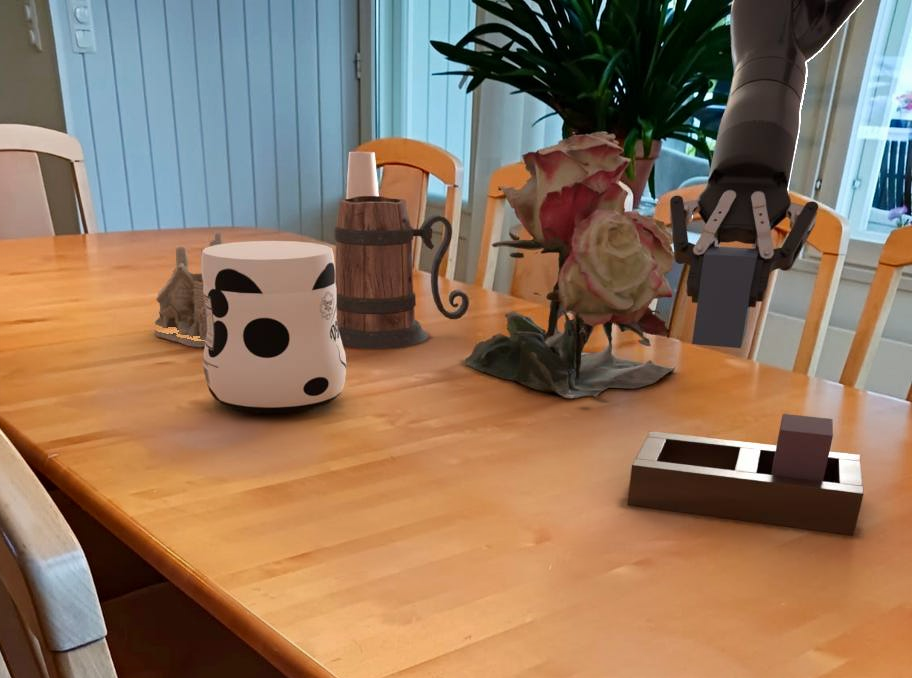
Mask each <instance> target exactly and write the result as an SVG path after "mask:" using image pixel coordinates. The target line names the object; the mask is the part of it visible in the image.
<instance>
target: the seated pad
mask: <svg viewBox="0 0 912 678" xmlns="http://www.w3.org/2000/svg"><path fill="white" fill-rule="evenodd" d="M833 420H834V419H833V418H826V417H817V416H809V415H798V414H789V413H783V414H782V416H781V421H780V426H779V431H778V436H777V442H776V451H775V456H774V461H773V466H772V472H771V475H774V476H782V477H790V478H799V479H807V480H815V481H823V479H824V474H825V470H826V465H827V461H828V456H829V452H831V447H832V442H833V438H834V421H833Z"/></svg>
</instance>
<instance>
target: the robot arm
mask: <svg viewBox="0 0 912 678" xmlns="http://www.w3.org/2000/svg"><path fill="white" fill-rule="evenodd" d="M864 1H865V0H732V3H731V7H730V8H731V9H730V18H729V19H730V21H729V25H730V26H729V27H730V31H729V32H730V45H731V46H730V47H731V59H732V67H733V76H732V79H731V83H730V89H729V93H728V97H727V102H726V106H725V109H724V112H723V114H722V117H721V119H720V123H719V127H718V131H717V135H716V136H717V137H716V139H715V140H716V141H715V144H714V150H713V153H712V157H711V158H712V159H711V162H710V163H711V164H710V168H709V173H708V177H707V182H706V186H705V188H704V189H703V190H702V191H701V192H700V194H699V195H698V197H697V198H692V199H687V200H684V198H683V197H682V196H681V195H673V196H672V197H671V198H670V200H669V220H670V221H669V222H670V228H671V229H670V230H671V234H672V238H673V244H672V248H673V256H674V261H675V263H676V264H678V265H683V264H686V265H688V266H689V269H688V274H687V278H686V291H685V292H686V297H691V303H693V304H697V303H698V296H699V289H700V281H701V274H702V267H703V260H704V254H705V253H706V252H707V250H708V249H709V248H710V247H711V246H712V247H715V246H716V247H721V246H722V244H723V243H728V244H729V243H734V242H739V243H740V244H741V243H742V244H747V245H751V246H752V249H758V251H759V255H758V260H756V265H755V270H754V275H753V280H752V285H751V290H750V296H749V305H748V307H750V308H756V306H757V303H758V302H759V303H763V302H764V300H765V299H766V296H767V292H768V291H767V290H768V287H769V280H770V275H771V273H773V272H774V271H776V270H781V271H782V272H783V271H784V272H787V271H789V270H791V269H792V268H793V266H794V265H795V262H796V260H797V259H798V257H799V255H800V253H801V251H802V250H803V248H804V246H805V245H806V242H807V241H808V239H809V237H810V235H811V233H812V232H813V230H814V228H815V225H816V221H817V216H818V212H819V211H818V210H819V204H818V202H816V201H814V200H813V201H812V200H811V201H807V202H806V203H805V204H804V205H802V204H799V203H796V202H792V199H791V196H790V194H789V188H790V181H791V176H792V171H793V167H794V161H795V157H796V156H795V155H796V153H797V149H798V140H799V134H800V128H801V110H802V105H803V100H804V94H805V90H806V85H807V84H806V83H807V77H808V64H807V62H809V61H810V60H811V59H813V58H814V57H816V56H817V55H818V53H820V52H822V50H823V48H825V47H826V45H827V44H828V43H829V42H830V41H831V40H832V39H833V37H834V36H835V35H836V34H837V32H838V31H839V30H840V28H841V27H842V26H843V25H844V24H845V23H846V21H847V20H848V19H849V18H850V17H851V15H852V14H853V13H854V12H855V11H856V9H857V8H858V7H859V6H860V5H862V3H863V2H864ZM696 214H699V216H700V217H701V219H702V221H703V222H704V226H703V229H702V233H701V235H700V236H699V238H698V240H697V241H696V243H692V242H689V237H688V229H687V227H689V225H690V224H691V223H692V222H693V218H694V216H695V215H696ZM786 218H788V219H789V224H788V225H789V228H790V231H789V233H788V235H787V237H786V239H785V240H784V242H783V244H782V246H781V247H777V248H774V246H773V240H772V230H773V229H775V228H777V226H778V225H780V224H781V223H782V222H783V221H784V220H785V219H786Z"/></svg>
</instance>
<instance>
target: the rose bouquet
mask: <svg viewBox="0 0 912 678" xmlns="http://www.w3.org/2000/svg"><path fill="white" fill-rule="evenodd" d="M571 133H573V135H572V136H569V137H568V138H564V139H561V140H558V142H557V144H553V145H550V146H547V147H544V148H540V149H537V150H536V151H527V152H526V153H524V154H521V157H522V160H523V162H524V165H525V171H527V172H528V173H529V175H530V177H529V178H528V179H527V180H526V181H525V182H526V183H525V184H524V185H523V186H522V187H520V189H516V188H515V187H514V186H511V187H505V186H501V185H500V186H499V185H498V186H497V189H498V191H502V192H503V195H504V196H505V199H506V200H507V202H508V204H509V207H510V208H512V209H514V214H515V216H516V218H517V219H518V221H519V222H520V224H521V226H523V228H524V230H526V232H527V233H528V234H529V235H530V236H531V237H532V239H515V240H514V239H513V240H511V239H510V240H500V241H496V242H493V243H491V246H492V247H493V248H501V247H506V248H514V249H520V250H527V251H537V250H541V251H540V254H549V253H550V254H553V253H555V254H558V258H557V261H558V271H557V280H556V282H555V284H554V285H553V290H552V291H550V292H548V293H547V294H546V297H545V298H546V300H548V301H550V303H549V314H548V322H547V323H548V327H547V331H546V330H545V329H544V328H542V327H541V326H539V325H538V324H536V323H535V321H534V319H533V318H532V317H529V316H525V315H523V314H520V313H519V312H518V311H516V310H514V311H513V310H511V311H510V312H508V313H504V317H505V318H506V321H507V324H506V330H507V332H508V333H509V336H508V335H505V334H502V333H501V332H499V333H497V334H494V335H492V337H490V338H488V339H486V340H484V341H479V342H478V343H476V344H475V345H474V348H473V349H472V352H471V354H470V355H468V356H467V357H466V358H465V365H466V366H468V367H471V368H472V369H475V370H476V371H479V372H482V373H483V374H488V375H491V376H494V377H497V378H498V379H501V380H504V381H506V380H510V381H517V382H518V383H519V384H521V385H523V386H525V387H528V388H530V389H533V390H537V391H539V392H544V393H552V394H553V393H554V394H557V395H560V396H562V397H563V398H565V399H578V398H581V397H591V396H593V397H594V398H596V399H599V400H604V399H602V398H600V397H598V396H599V395H600V394H601V393H602V392H603V391H605V390H607V389H608V388H613V389H614V388H616V389H635V390H636V389H639V388H643V387H645V386H649V385H652V384H654V383H657V381H659V380H660V379H661V378H663V377H664V376H666V375H668V373H671V372H674V371H675V369H676V367H675V366H663V365H661V364H659V363H655V362H654V361H652V360H648V361H646V362H638V361H633V360H627V359H621V358H618V357H617V356H616V355H615V354H613V344H612V343H613V342H612V341H613V335H612V333H613V324H617V326H618V328H619V330H620V332H621V333H623V332H626V331H631V332H633V333H634V334H636V335H638V336H639V337H640V338H641V339H639V340H637V342H638V343H639V344H640V345H643V346H645V347H651V342H650V339H649V338H647V337H646V336H645V335H644V333H645V334H647V335H651V336H657V335H660V334H662V333H663V332H664V331H665V330H666V324H667V322H666V321H665V320H664V319H662V318H660V317H659V316H657V315H656V314H655V313H657V314H659V315H660V314H661V311H659V310H654V309H652V308H651V307H650V305H651V304H652V302H653V301H654V300H655V299H656V300H658V299H663V298H670V299H671V298H673V291H672V288H671V286H670V283H669V280H668V279H667V278H666V277H664V276H665V275H667V274H669V273H670V272H671V271H672V269H673V268H674V267H673V266H674V260H675V256H674V248H673V238H672V232H670V231H669V229H668V227H667V225H666V224H665V222H664V221H661V220H659V219H656V218H653V217H651V216H648V215H643V214H642V213H641V214H640V212H639V211H637V210H628V211H627V210H626V209H625V202H626V200H627V197H628V196H629V192H628V191H627V190H626V189H625V188H624V187H622V186H621V185H620V184H619V183H620V181H621V177H622V174H623V173H624V171H625V170H626V169H627V168H628V166H629V165H630V163H631V162H632V159H631V158H628V157H624V156H621V155H620V154H622V153H624V152H625V151H624V148H623V147H621V146H619V144H620V143H619V141H618V140H615V139H616V134H614V133H608V132H607V131H596V132H592V133H585V134H576V132H575V131H572V132H571ZM536 254H538V251H537V252H535V253H534V255H536ZM509 256H510V258H515V259H523V258H525V254H524V253H523V252H518V251H517V252H511V253H510V254H509ZM449 260H450V262H452V258H450V259H449ZM532 294H533V295H537V296H540V297H542V295H541V294H540V293H538V292H533V293H532ZM569 312H572V314H573V319H570V317H569V316H568V313H569ZM563 316H564V319H565V322H563V328H564V331H561V330H559V327H558V322H559V319H560V318H561V317H563ZM542 325H543V322H542ZM598 325H599V326H600V325H602V328H603V332H604V334H605V335H606V336H605V337H606V338H607V341H608V345H607V347H606V348H605V349H604V350H602V351H598V352H583V350H584V348H585V345H586V344H587V343H588V342H589V339H590V337H591V335H592V333H593V331H594V329H595V327H596V326H598Z"/></svg>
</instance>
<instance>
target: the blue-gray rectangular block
mask: <svg viewBox="0 0 912 678" xmlns="http://www.w3.org/2000/svg"><path fill="white" fill-rule="evenodd" d="M758 255H759V251H758V249H753V247H752V248H750V247H733V246H731V247H730V246H720V247H716V246H715V247H712V246H711V247H710V248H709V249H708V250H707V252H706V253H705V254H704V260H703V267H702V274H701V281H700V289H699V296H698V303H696V312H695V319H694V325H693V333H692V340H691V344H692V345H699V346H709V347H721V348H731V349H732V348H733V349H741V348H742V346H743V343H744V341H745V338H746V334H747V328H748V322H749V317H750V310H751V307H748V305H749V296H750V290H751V285H752V280H753V275H754V270H755V265H756V260H758Z"/></svg>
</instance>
